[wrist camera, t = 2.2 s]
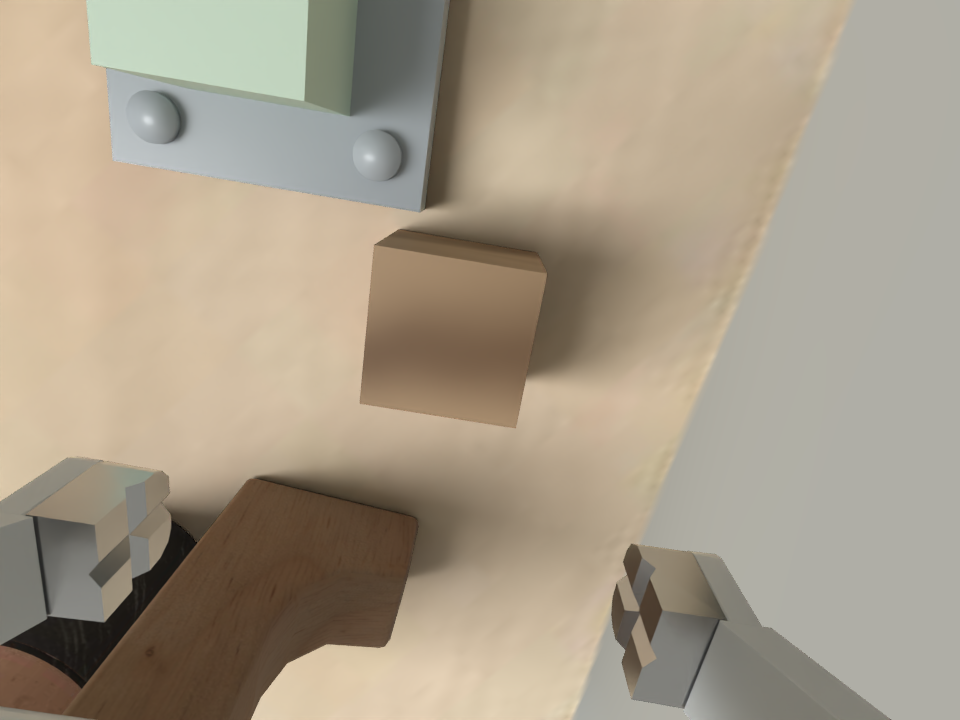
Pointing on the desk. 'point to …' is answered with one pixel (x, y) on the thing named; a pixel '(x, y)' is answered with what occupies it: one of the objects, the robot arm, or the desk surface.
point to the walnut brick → (450, 327)
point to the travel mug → (78, 642)
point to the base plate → (305, 119)
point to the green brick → (233, 47)
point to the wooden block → (255, 606)
